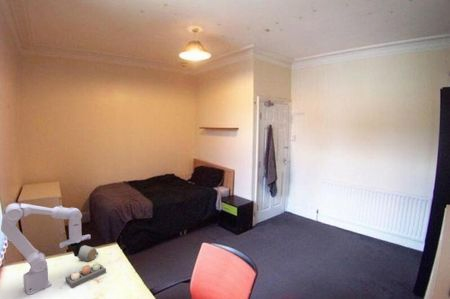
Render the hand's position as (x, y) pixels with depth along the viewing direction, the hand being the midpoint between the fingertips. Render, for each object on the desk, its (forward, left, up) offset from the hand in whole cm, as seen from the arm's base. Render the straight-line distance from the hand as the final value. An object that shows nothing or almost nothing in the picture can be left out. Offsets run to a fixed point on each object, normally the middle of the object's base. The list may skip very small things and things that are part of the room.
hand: (76, 255), depth 132 cm
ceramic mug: (+11, +13, -11) cm, 20 cm away
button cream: (-3, -7, -10) cm, 13 cm away
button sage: (+7, -7, -10) cm, 14 cm away
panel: (+2, -7, -10) cm, 13 cm away
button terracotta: (+2, -7, -9) cm, 11 cm away
